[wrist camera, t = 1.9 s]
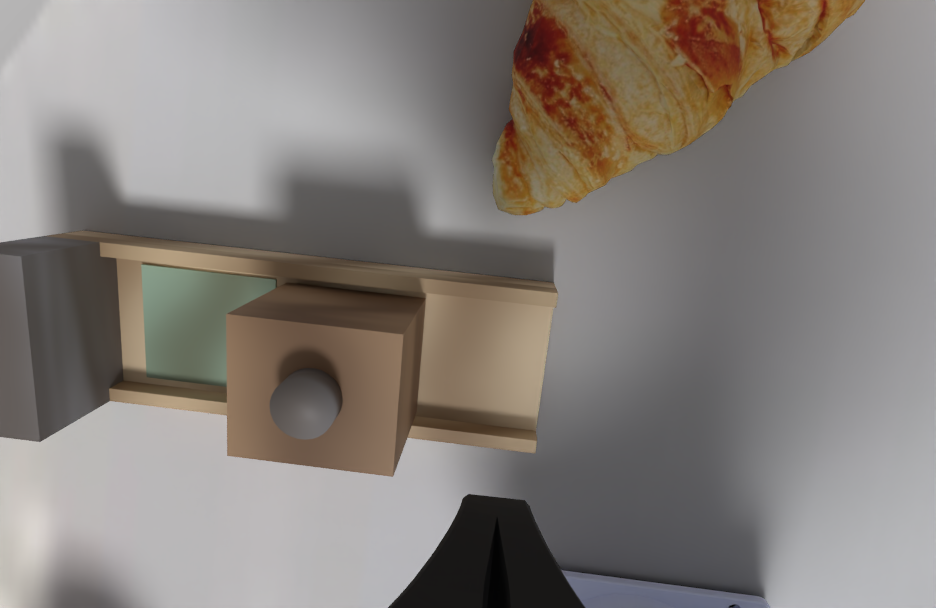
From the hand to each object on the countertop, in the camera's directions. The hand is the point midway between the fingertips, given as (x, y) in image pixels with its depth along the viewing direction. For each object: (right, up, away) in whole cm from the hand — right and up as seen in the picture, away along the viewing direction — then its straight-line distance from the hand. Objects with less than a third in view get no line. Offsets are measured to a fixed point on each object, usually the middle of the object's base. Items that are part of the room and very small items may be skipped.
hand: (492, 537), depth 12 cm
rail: (-7, +4, +10) cm, 12 cm away
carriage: (-5, +3, +8) cm, 10 cm away
